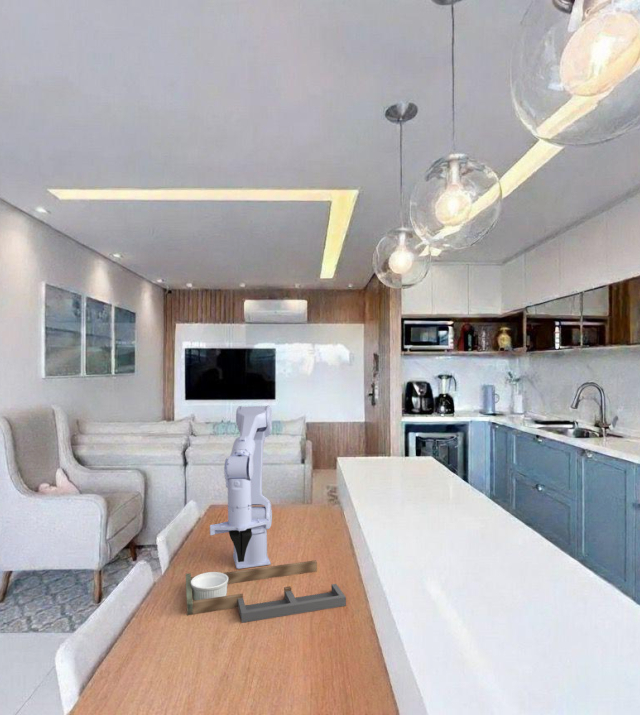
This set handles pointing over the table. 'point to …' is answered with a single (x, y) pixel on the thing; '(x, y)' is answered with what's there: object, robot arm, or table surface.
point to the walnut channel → (243, 576)
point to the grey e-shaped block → (291, 605)
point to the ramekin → (209, 585)
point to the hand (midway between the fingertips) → (240, 560)
